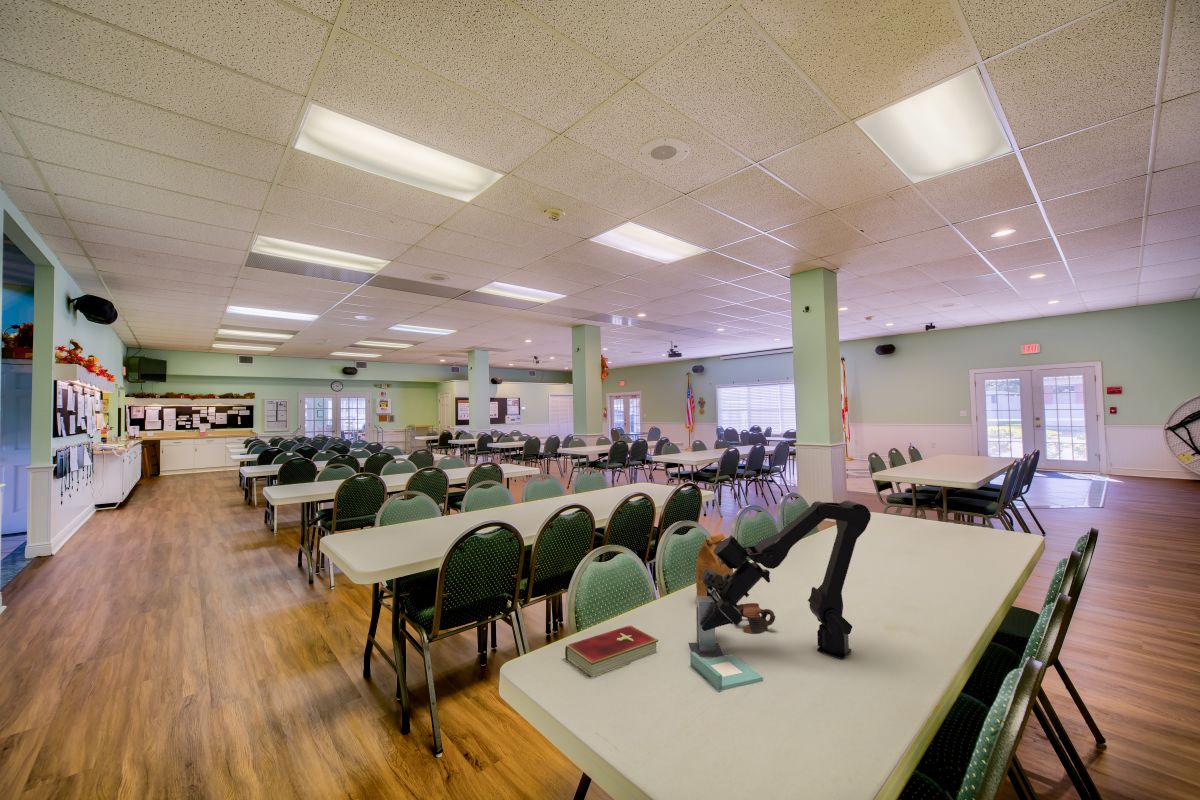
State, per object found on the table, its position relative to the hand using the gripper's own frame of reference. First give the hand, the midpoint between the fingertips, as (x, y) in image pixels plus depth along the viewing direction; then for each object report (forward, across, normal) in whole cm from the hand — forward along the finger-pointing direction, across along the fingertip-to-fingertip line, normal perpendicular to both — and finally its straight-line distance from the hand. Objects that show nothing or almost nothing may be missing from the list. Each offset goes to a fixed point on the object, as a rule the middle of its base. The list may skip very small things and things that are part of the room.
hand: (700, 623), depth 129 cm
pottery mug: (-8, -14, +18) cm, 24 cm away
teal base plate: (+2, +12, +8) cm, 14 cm away
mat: (+4, 0, +6) cm, 7 cm away
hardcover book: (+22, +3, -11) cm, 25 cm away
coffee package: (-3, -35, +13) cm, 37 cm away
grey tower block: (+4, 0, +6) cm, 7 cm away
